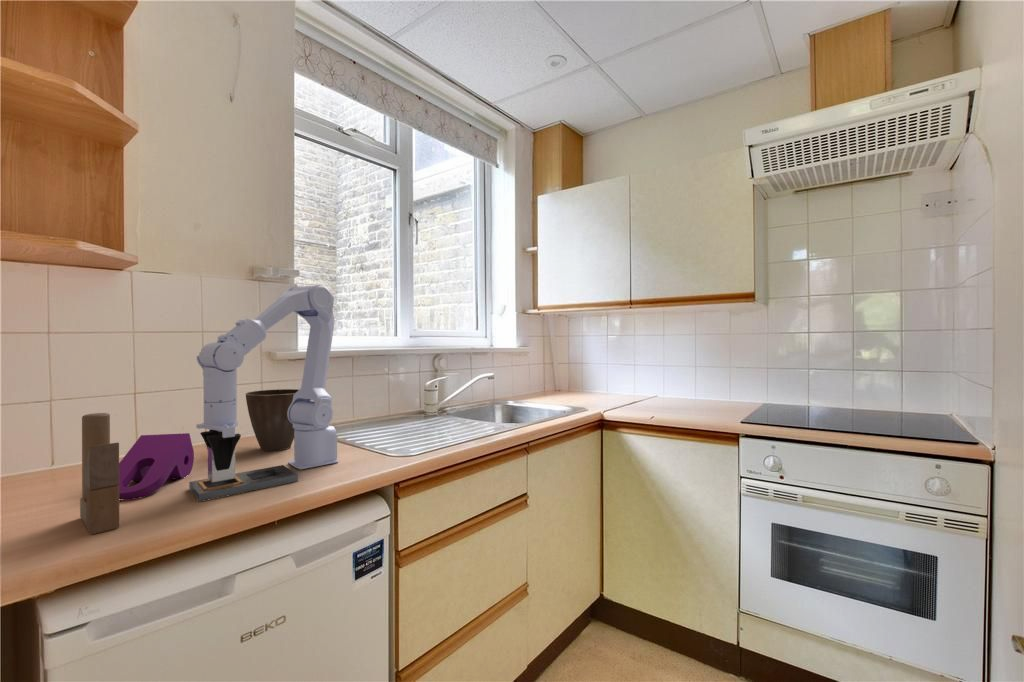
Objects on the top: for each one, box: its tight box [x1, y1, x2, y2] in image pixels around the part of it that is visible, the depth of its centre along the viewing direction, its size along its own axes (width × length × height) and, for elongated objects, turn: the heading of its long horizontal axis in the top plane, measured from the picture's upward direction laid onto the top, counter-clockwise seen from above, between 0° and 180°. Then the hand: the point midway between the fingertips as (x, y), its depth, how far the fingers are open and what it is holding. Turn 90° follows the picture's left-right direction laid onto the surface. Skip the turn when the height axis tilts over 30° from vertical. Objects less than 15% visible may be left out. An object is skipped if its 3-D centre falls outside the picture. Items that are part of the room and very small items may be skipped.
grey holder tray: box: [188, 464, 299, 502], centre depth 96 cm, size 18×10×2 cm, turn 134°
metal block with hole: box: [207, 446, 236, 482], centre depth 93 cm, size 4×4×7 cm
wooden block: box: [79, 412, 120, 535], centre depth 76 cm, size 4×11×18 cm, turn 50°
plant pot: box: [245, 388, 299, 452], centre depth 128 cm, size 15×15×16 cm
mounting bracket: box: [119, 432, 195, 500], centre depth 96 cm, size 9×8×18 cm
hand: (220, 467), depth 93 cm, fingers closed on metal block with hole, 4 cm apart
